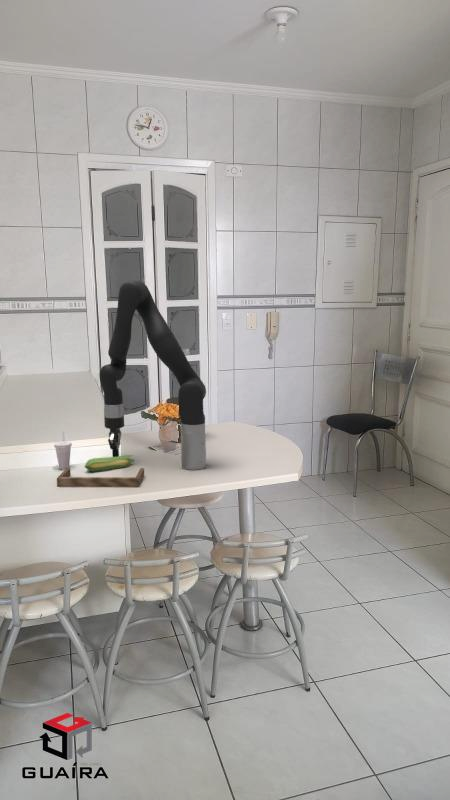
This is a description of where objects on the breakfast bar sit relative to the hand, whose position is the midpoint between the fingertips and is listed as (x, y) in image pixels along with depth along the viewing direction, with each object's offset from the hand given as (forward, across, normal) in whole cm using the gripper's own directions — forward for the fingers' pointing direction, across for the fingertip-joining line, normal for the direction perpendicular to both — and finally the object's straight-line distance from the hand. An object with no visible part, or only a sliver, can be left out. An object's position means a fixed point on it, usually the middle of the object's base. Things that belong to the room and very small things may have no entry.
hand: (115, 458), depth 219 cm
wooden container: (+2, +36, -23) cm, 43 cm away
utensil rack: (+2, -23, 0) cm, 23 cm away
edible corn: (+2, -8, 0) cm, 9 cm away
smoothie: (+2, -8, +18) cm, 20 cm away
